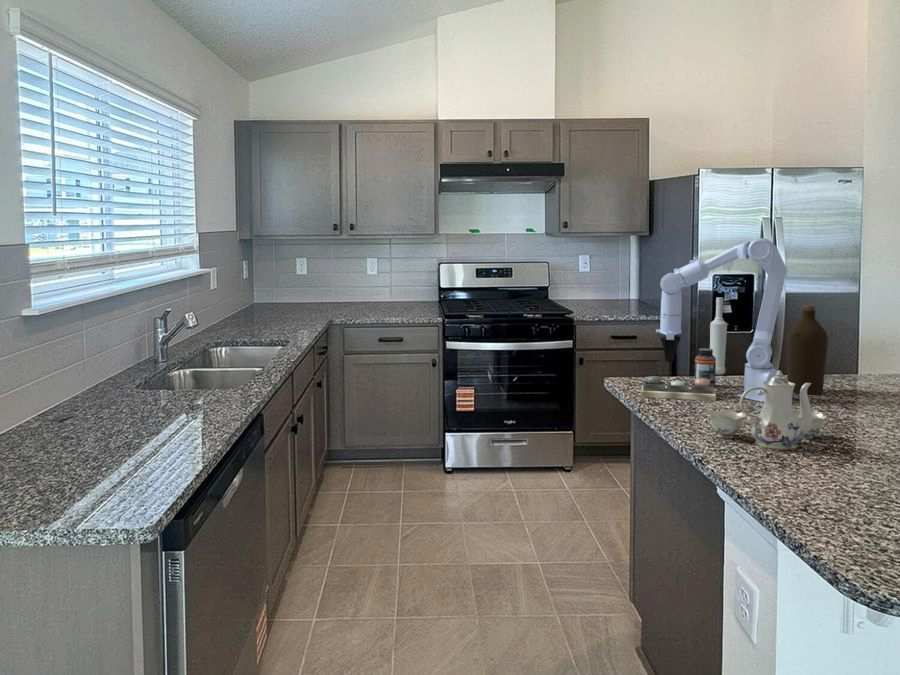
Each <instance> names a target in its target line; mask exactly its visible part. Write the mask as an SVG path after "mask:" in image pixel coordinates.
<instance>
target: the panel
mask: <svg viewBox="0 0 900 675" xmlns="http://www.w3.org/2000/svg"><path fill="white" fill-rule="evenodd" d="M689 383H690V382H685V386H679V385H671V381H667V384H666V381H662V385H657V384H647V380H643V385H642V386H641V389H640V398H651V399H652V398H653V399H673V400H676V399H677V400H689V401H690V400H695V401H712V402H713V401H714V402H716V400H717V396H716V389H715V388H714V387H713V384H710V387H701V386H695V382H691V384H690V385H689Z"/></svg>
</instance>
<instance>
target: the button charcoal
mask: <svg viewBox="0 0 900 675" xmlns="http://www.w3.org/2000/svg"><path fill="white" fill-rule="evenodd" d="M662 378H663V377H662V376H659V375H658V376H657V375H654V376H653V375H652V376H651V375H649V376H647V379H646V381H647V384H657V385H662V382H663V380H662Z"/></svg>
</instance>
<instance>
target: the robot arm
mask: <svg viewBox="0 0 900 675" xmlns="http://www.w3.org/2000/svg"><path fill="white" fill-rule="evenodd" d="M749 259H750V260H752V261H753V262H755V263H756V264H758V265H760V266H761V268H762V269H763V271H764V272H765V273H766V274H767V277H766V281H765V282H766V283H765V286H764V291H763V295H762V301H761V306H760V309H759V314H758V317H757V322H756V323H757V324H756V328H755V331H754V335H753V339H752V342H751V344H750V345H749V346H748V349H747V351H746V354H745V357H746V360H747V362H745V363H744V377H743V378H744V379H743V380H744V381H743V393H744V392H745V391H746V390H747V389H749V388H752V387H762V388H764V384H763V383H762V382H764V381H770V379H771V378H772V377H773V376H776V373H777V372H778V371H779V370H778V369H775V368H774V364H773V363H772V362H771V360H772V359H771V357H772V355H773V348H772V345H771V344H772V339H773V334H774V330H775V325H776V321H777V316H778V312H779V307H780V304H781V300H782V298H781V297H782V294H783V289H784V284H785V282H786V281H785V280H786V276H787V271H788V270H787V266H786V264H785V262H784V260H783V258H782V255H781V254H780V251H779V249H778V247H777V246H776V245H775V244H774V243H773V242H772V241H771V240H770V239H768V238H765V237H758V238H755V239H752V241H747V242H744V243H740V244H736V245H735V246H732V247H731V248H728V249H726V250H725V251H723V252H721V253H719V254H717V255H715V256H713V257H711V258H709V259H707V260H705V261H704V260H701V259H697V260H694V259H692V260H690V261H688V262H689V263H688V264H686V265H684V266H682V267H680V268H678V267H676V268H674V269H673V272H669V273H666V274H665V275H663V277H661V280H660V284H659V285H660V288H661V299H660V324H659V325H660V327H659V328H658V329H656V328H655V333H660V334H661V335H665V336H660V337H659V340H660V342H661V345H662V349H663V355H664V359H665V362H666V363H667V362H668V363H673V362H674V361H675V356H676V351H677V348H678V345H679V343H680V341H681V336H677V335H680V334H682V309H683V308H682V304H683V303H682V302H683V300H682V290H683V288H688V287H691V286H692V285H695V284H696V283H699V282H701V281H703V280H706V279H708V277H709V274H710V272H711V271H713V270H716V269H718V268H720V267H723V266H725V265H727V264H729V263H731V262H734V261H736V260H749ZM758 391H762V392H763V390H762V389H757V390H752V391H750V392H748V393H747V394H746V396H745V397H744V399H746V400H752V401H756V402H761V403H764V399H765V394H763V395H762V396H759V395H758ZM743 393H739V394H736V397H739V398H741V396H742V394H743Z"/></svg>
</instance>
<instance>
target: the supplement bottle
mask: <svg viewBox="0 0 900 675" xmlns="http://www.w3.org/2000/svg"><path fill="white" fill-rule="evenodd" d="M715 372H716V358H715V357H714V356H713V349H710V347H709V348H708V347H704V348H703V347H702V348H699V349H698V355H696V356H695V358H694V380H695V379H696V378H705V379H710V384H713V388H714V387H715V386H716V374H715Z"/></svg>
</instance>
